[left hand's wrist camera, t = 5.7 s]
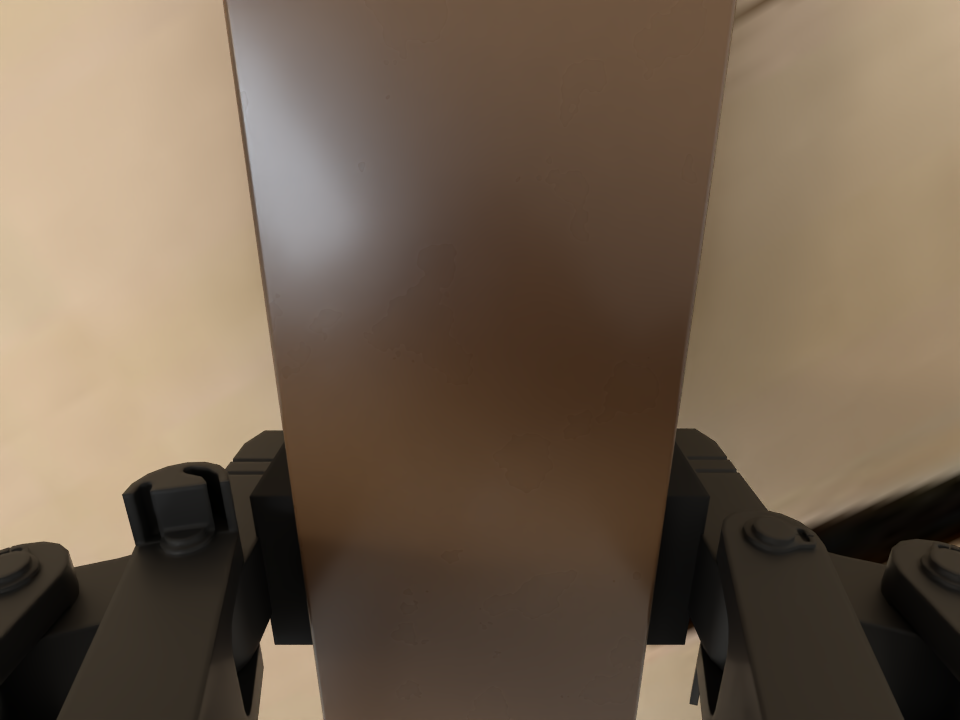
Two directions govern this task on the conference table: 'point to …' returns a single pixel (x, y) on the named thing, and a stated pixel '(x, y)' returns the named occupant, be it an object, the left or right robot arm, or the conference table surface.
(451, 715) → the post
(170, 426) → the conference table surface
